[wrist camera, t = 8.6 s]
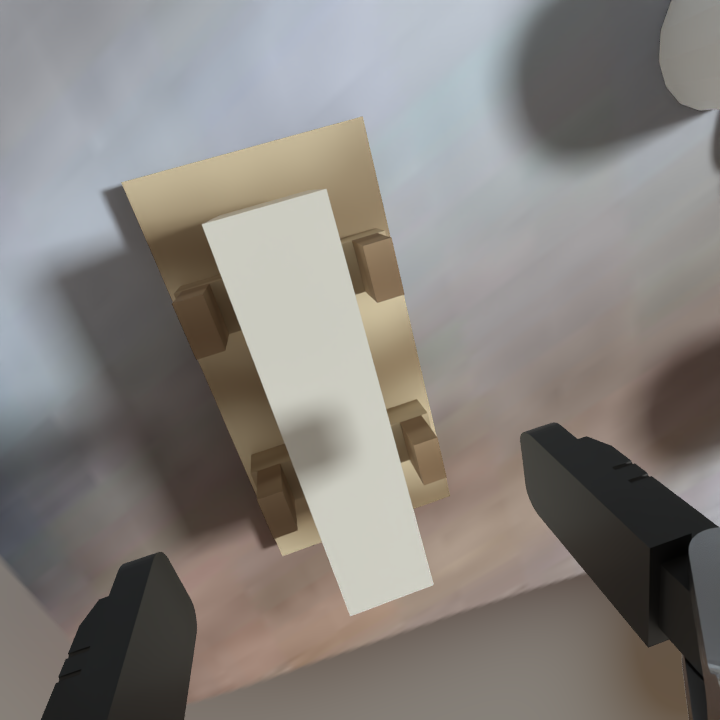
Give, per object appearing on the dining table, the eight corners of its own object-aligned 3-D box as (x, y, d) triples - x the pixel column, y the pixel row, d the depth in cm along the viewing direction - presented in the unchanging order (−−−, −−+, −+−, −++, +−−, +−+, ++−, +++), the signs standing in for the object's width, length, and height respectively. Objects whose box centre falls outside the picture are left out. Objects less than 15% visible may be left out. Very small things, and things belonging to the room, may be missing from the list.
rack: (128, 183, 17) (86, 179, 13) (357, 120, 18) (386, 98, 14) (281, 542, 24) (286, 615, 20) (443, 484, 25) (479, 542, 21)
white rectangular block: (218, 215, 16) (201, 224, 11) (307, 190, 16) (326, 188, 12) (330, 524, 21) (350, 616, 17) (396, 500, 21) (433, 584, 17)
